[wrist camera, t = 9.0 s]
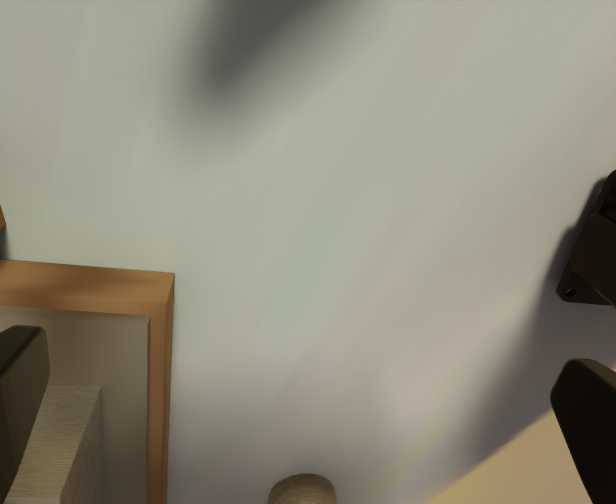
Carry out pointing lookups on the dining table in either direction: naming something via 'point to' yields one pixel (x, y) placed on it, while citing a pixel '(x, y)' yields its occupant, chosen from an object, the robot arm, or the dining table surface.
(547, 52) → the dining table surface
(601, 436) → the robot arm
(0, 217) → the oak block
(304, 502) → the tan rounded piece
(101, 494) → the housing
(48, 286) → the stand
